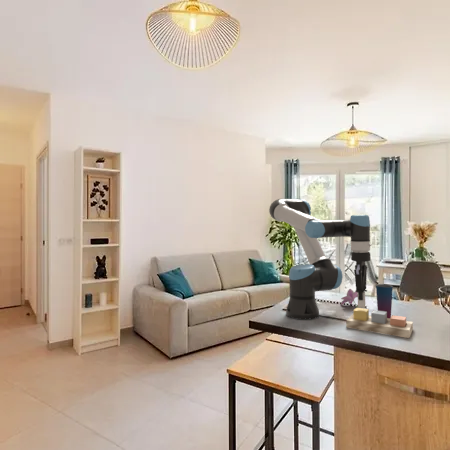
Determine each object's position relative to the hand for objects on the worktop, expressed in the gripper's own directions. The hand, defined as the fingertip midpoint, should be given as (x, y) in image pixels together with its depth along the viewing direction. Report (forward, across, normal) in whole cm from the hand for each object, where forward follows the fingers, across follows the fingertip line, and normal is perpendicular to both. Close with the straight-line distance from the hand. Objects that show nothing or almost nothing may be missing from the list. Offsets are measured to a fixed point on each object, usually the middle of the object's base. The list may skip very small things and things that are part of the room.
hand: (361, 307), depth 138 cm
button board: (+8, 0, -7) cm, 10 cm away
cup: (+8, +15, -6) cm, 18 cm away
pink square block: (+6, 0, -14) cm, 15 cm away
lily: (+8, +29, +12) cm, 32 cm away
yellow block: (+5, 0, 0) cm, 5 cm away
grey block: (+5, 0, -7) cm, 9 cm away
